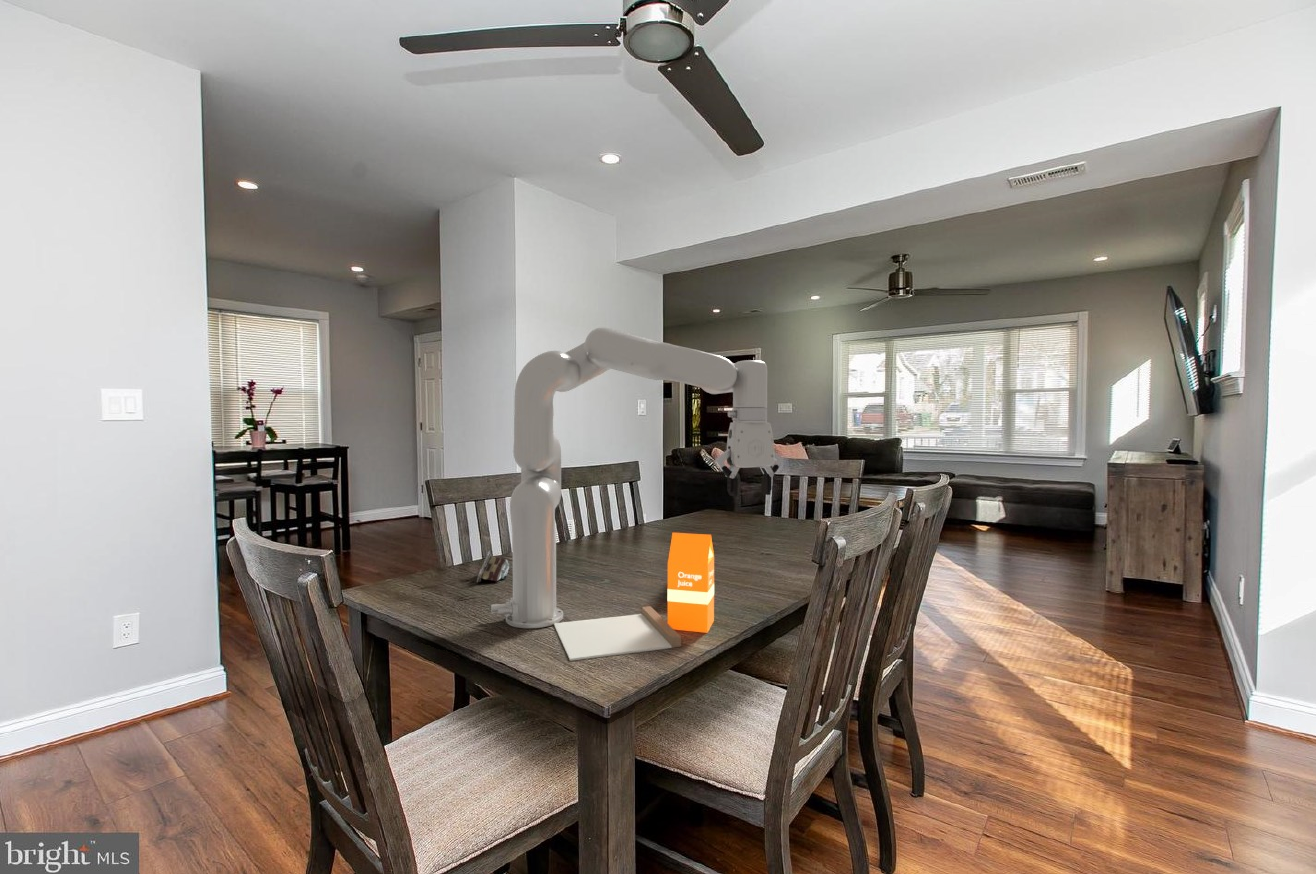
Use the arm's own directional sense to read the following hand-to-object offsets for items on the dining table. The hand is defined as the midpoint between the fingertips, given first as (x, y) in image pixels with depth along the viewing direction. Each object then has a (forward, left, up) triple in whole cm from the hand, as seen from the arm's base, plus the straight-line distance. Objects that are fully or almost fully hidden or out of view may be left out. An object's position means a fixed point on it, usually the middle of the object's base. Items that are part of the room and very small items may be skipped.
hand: (749, 494), depth 134 cm
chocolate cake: (-55, +47, -30) cm, 78 cm away
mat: (-33, -1, -28) cm, 43 cm away
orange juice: (-14, 0, -28) cm, 31 cm away
